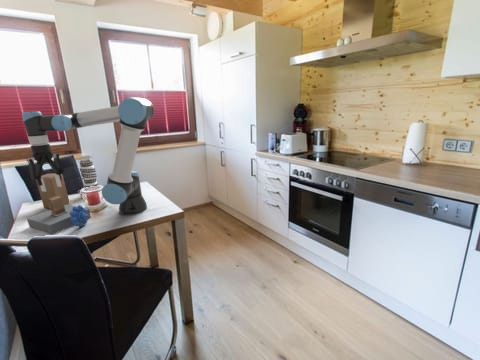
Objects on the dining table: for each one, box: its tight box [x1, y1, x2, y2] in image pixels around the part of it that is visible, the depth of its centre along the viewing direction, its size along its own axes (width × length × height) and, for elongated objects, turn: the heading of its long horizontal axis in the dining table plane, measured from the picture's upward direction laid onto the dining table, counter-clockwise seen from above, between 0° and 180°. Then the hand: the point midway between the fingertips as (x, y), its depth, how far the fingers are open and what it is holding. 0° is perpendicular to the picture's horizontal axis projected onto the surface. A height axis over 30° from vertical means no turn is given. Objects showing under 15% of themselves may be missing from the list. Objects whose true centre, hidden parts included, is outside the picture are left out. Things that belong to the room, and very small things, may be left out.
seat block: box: [26, 204, 92, 235], centre depth 135 cm, size 20×20×5 cm
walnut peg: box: [48, 196, 66, 217], centre depth 134 cm, size 5×5×14 cm
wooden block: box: [35, 172, 70, 209], centre depth 157 cm, size 10×10×20 cm
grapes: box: [70, 204, 88, 228], centre depth 128 cm, size 12×7×12 cm, turn 178°
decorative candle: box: [78, 158, 99, 189], centre depth 175 cm, size 9×9×25 cm
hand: (52, 188), depth 130 cm, fingers open, 7 cm apart
